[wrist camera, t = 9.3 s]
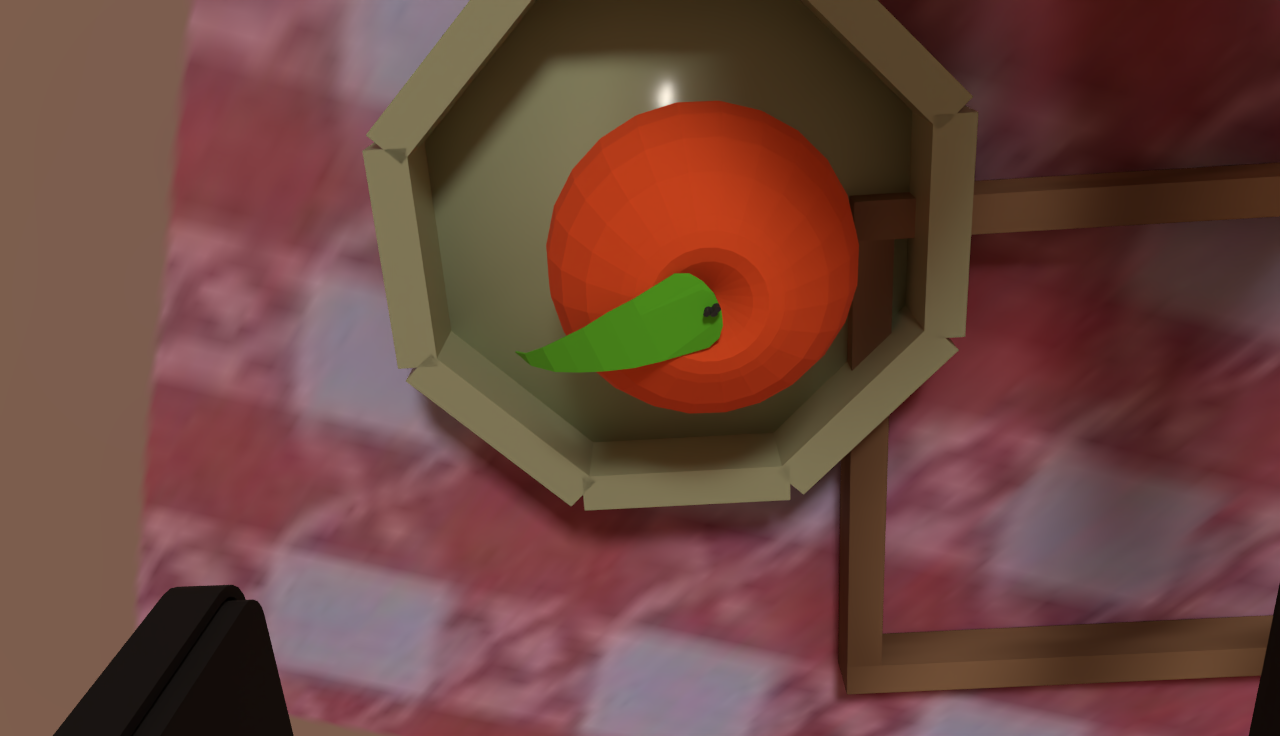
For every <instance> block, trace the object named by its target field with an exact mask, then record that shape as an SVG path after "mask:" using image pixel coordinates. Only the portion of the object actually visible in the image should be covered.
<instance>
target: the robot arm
mask: <svg viewBox="0 0 1280 736" xmlns="http://www.w3.org/2000/svg"><path fill="white" fill-rule="evenodd" d="M53 736H293V732H292V728H291V723H290V719H289V715H288V711H287V707H286V703H285V698H284V694H283V690H282V686H281V682H280V678H279V674H278V669H277V665H276V661H275V657H274V653H273V649H272V645H271V640H270V636H269V632H268V628H267V624H266V620H265V616H264V612H263V610H262V607H261V605H260V604H259V603H258V601H255V600H245V597H244V594H243V593H242V592H241V590H240V589H239V588H238V587H236V586H234V585H216V586H188V587H175V588H171V589H169V590H168V591H167V592H166V593H165V594H164V595H163V596H162V597H161V599H160V600H159V601H158V602H157V604H156V605H155V606H154V608H153V609H152V610H151V611H150V613H149V614H148V615H147V616H146V618H145V619H144V620H143V622H142V623H141V624H140V625H139V627H138V628H137V629H136V630H135V632H134V633H133V634H132V636H131V637H130V638H129V639H128V641H127V642H126V643H125V644H124V646H123V647H122V648H121V650H120V651H119V652H118V653H117V655H116V656H115V657H114V658H113V660H112V661H111V662H110V664H109V665H108V666H107V667H106V669H105V670H104V671H103V673H102V674H101V675H100V676H99V678H98V679H97V680H96V681H95V683H94V684H93V685H92V687H91V688H90V689H89V690H88V692H87V693H86V694H85V695H84V697H83V698H82V699H81V701H80V702H79V703H78V704H77V706H76V707H75V708H74V709H73V711H72V712H71V713H70V715H69V716H68V717H67V718H66V720H65V721H64V722H63V724H62V725H61V726H60V727H59V729H58V730H57V731H56V733H55V734H54V735H53ZM1249 736H1280V585H1279V590H1278V595H1277V599H1276V604H1275V609H1274V614H1273V619H1272V624H1271V629H1270V634H1269V639H1268V644H1267V649H1266V654H1265V658H1264V663H1263V668H1262V673H1261V678H1260V683H1259V688H1258V693H1257V698H1256V703H1255V708H1254V713H1253V717H1252V722H1251V727H1250V732H1249Z"/></svg>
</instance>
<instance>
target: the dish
mask: <svg viewBox="0 0 1280 736" xmlns="http://www.w3.org/2000/svg"><path fill="white" fill-rule="evenodd" d="M972 97H973V96H972V95H971V94H970V93H969V92H968V91H967V90H966V89H965V88H964V87H963V86H962V85H961V84H960V83H959V82H958V81H957V80H956V79H955V78H954V77H953V76H952V75H951V74H950V73H949V72H948V71H947V70H946V69H945V68H944V67H943V66H942V65H941V64H940V63H939V62H938V61H937V60H936V59H935V58H934V57H933V56H932V55H931V54H930V53H929V52H928V51H927V50H926V49H925V48H924V47H923V46H922V45H921V44H920V43H919V42H918V41H917V40H916V39H915V38H914V37H913V36H912V35H911V33H910V32H909V31H908V30H907V29H906V28H905V27H904V26H903V25H902V24H901V23H900V22H899V21H898V20H897V19H896V18H895V17H894V16H893V15H892V14H891V13H890V12H889V11H888V10H887V9H886V8H885V7H884V6H883V5H882V4H881V3H880V2H879V1H878V0H470V1H469V2H468V4H467V5H466V6H465V7H464V9H463V10H462V11H461V13H460V14H459V15H458V17H457V18H456V19H455V20H454V22H453V23H452V24H451V26H450V27H449V28H448V29H447V31H446V32H445V33H444V35H443V36H442V37H441V39H440V40H439V41H438V42H437V44H436V45H435V46H434V48H433V49H432V50H431V52H430V53H429V54H428V55H427V57H426V58H425V59H424V61H423V62H422V63H421V65H420V66H419V67H418V68H417V70H416V71H415V72H414V74H413V75H412V76H411V77H410V79H409V80H408V81H407V83H406V84H405V85H404V87H403V88H402V89H401V90H400V92H399V93H398V94H397V96H396V97H395V98H394V100H393V101H392V102H391V103H390V105H389V106H388V107H387V109H386V110H385V111H384V113H383V114H382V115H381V116H380V118H379V119H378V120H377V122H376V123H375V124H374V125H373V127H372V128H371V129H370V131H369V132H368V133H367V135H366V136H367V137H369V138H370V139H371V140H372V141H374V143H373V144H371V145H370V146H369V147H367V148H366V149H364V150H363V157H364V163H365V169H366V175H367V181H368V187H369V194H370V200H371V206H372V212H373V218H374V224H375V230H376V236H377V242H378V248H379V255H380V261H381V267H382V273H383V279H384V285H385V291H386V297H387V303H388V309H389V316H390V322H391V328H392V334H393V340H394V346H395V352H396V358H397V364H398V369H401V368H413V369H412V371H411V373H410V374H409V376H408V378H407V380H406V382H408V383H409V384H410V385H412V386H413V387H414V388H415V389H417V390H418V391H419V392H421V393H422V394H423V395H425V396H426V397H427V398H429V399H430V400H431V401H433V402H434V403H435V404H437V405H438V406H439V407H441V408H442V409H443V410H444V411H446V412H447V413H448V414H450V415H451V416H452V417H454V418H455V419H456V420H458V421H459V422H460V423H462V424H463V425H464V426H466V427H467V428H468V429H470V430H471V431H472V432H473V433H475V434H476V435H477V436H479V437H480V438H481V439H483V440H484V441H485V442H487V443H488V444H489V445H491V446H492V447H493V448H495V449H496V450H497V451H499V452H500V453H501V454H502V455H504V456H505V457H506V458H508V459H509V460H510V461H512V462H513V463H514V464H516V465H517V466H518V467H520V468H521V469H522V470H524V471H525V472H526V473H528V474H529V475H530V476H531V477H533V478H534V479H535V480H537V481H538V482H539V483H541V484H542V485H543V486H545V487H546V488H547V489H549V490H550V491H551V492H553V493H554V494H555V495H557V496H558V497H559V498H560V499H562V500H563V501H564V502H566V503H567V504H568V505H570V506H572V505H573V504H574V503H575V502H576V501H577V500H578V499H579V498H580V497H581V496H582V495H583V497H584V508H585V511H586V510H605V509H624V508H644V507H663V506H683V505H702V504H721V503H741V502H760V501H779V500H790V484H791V485H792V486H794V487H795V488H796V489H797V490H799V491H800V492H801V493H802V494H803V495H804V494H805V493H806V492H807V491H808V490H809V489H810V488H811V487H812V486H813V485H814V484H816V483H817V482H818V481H819V480H820V479H821V478H822V477H823V476H824V475H825V474H826V473H827V472H828V471H829V470H831V469H832V468H833V467H834V466H835V465H836V464H837V463H838V462H839V461H840V460H841V459H842V458H843V457H845V456H846V455H847V454H848V453H849V452H850V451H851V450H852V449H853V448H854V447H855V446H856V445H857V444H858V443H860V442H861V441H862V440H863V439H864V438H865V437H866V436H867V435H868V434H869V433H870V432H871V431H872V430H874V429H875V428H876V427H877V426H878V425H879V424H880V423H881V422H882V421H883V420H884V419H885V418H886V417H887V416H889V415H890V414H891V413H892V412H893V411H894V410H895V409H896V408H897V407H898V406H899V405H900V404H901V403H903V402H904V401H905V400H906V399H907V398H908V397H909V396H910V395H911V394H912V393H913V392H914V391H915V390H916V389H918V388H919V387H920V386H921V385H922V384H923V383H924V382H925V381H926V380H927V379H928V378H929V377H930V376H932V375H933V374H934V373H935V372H936V371H937V370H938V369H939V368H940V367H941V366H942V365H943V364H944V363H945V362H947V361H948V360H949V359H950V358H951V357H952V356H953V355H954V354H955V353H956V352H957V351H958V349H957V347H956V346H955V345H954V344H953V342H952V341H951V340H950V338H952V337H965V330H966V313H967V296H968V279H969V262H970V245H971V228H972V211H973V194H974V178H975V161H976V144H977V127H978V112H977V111H975V110H973V109H971V108H969V107H967V106H965V105H966V104H967V103H968V102H969V100H970V99H971V98H972ZM697 101H723V102H727V103H732V104H736V105H740V106H744V107H749V108H753V109H757V110H761V111H763V112H765V113H767V114H769V115H771V116H772V117H774V118H776V119H778V120H780V121H782V122H783V123H785V124H787V125H789V126H791V127H792V128H794V129H796V130H798V131H799V132H800V133H801V134H802V135H803V136H804V137H805V138H806V139H807V140H808V141H809V142H810V143H811V144H812V145H813V146H814V147H815V148H816V149H817V150H818V151H819V152H820V153H821V154H822V155H823V156H824V157H825V158H826V159H827V160H828V161H829V163H830V165H831V167H832V168H833V170H834V172H835V174H836V176H837V177H838V179H839V181H840V183H841V184H842V186H843V188H844V190H845V192H846V193H847V195H848V200H849V196H853V195H870V194H886V193H903V192H910V193H911V194H912V195H913V196H914V197H915V198H916V213H915V238H906V239H894V266H893V299H892V332H891V334H890V335H889V336H888V337H887V338H886V339H885V340H884V341H883V342H882V343H881V344H880V345H879V346H878V347H877V348H875V349H874V350H873V351H872V352H871V353H870V354H869V355H868V356H867V357H866V358H865V359H864V360H863V361H862V362H861V363H860V364H859V365H858V366H857V367H856V368H855V369H854V370H853V371H852V370H851V368H850V366H849V364H848V362H847V337H848V316H847V319H846V322H845V324H844V325H843V327H842V328H841V330H840V331H839V333H838V335H837V336H836V338H835V339H834V341H833V342H832V344H831V345H830V347H829V349H828V350H827V352H826V353H825V355H824V356H823V357H822V358H821V359H820V360H818V361H817V362H816V363H815V364H814V365H813V366H812V367H811V368H810V369H809V370H808V371H807V372H806V373H805V374H804V375H802V376H801V377H800V378H799V379H798V380H797V381H796V382H795V383H794V384H792V385H791V386H789V387H787V388H786V389H784V390H782V391H780V392H778V393H777V394H775V395H773V396H771V397H769V398H768V399H766V400H764V401H762V402H761V403H757V404H754V405H750V406H746V407H743V408H739V409H736V410H732V411H728V412H721V413H691V414H689V413H685V412H680V411H675V410H670V409H665V408H661V407H656V406H653V405H650V404H648V403H646V402H643V401H641V400H639V399H637V398H635V397H633V396H631V395H629V394H627V393H625V392H623V391H621V390H619V389H617V388H615V387H613V386H612V385H611V384H610V383H609V382H607V381H606V380H605V379H604V378H603V377H602V376H600V375H599V374H598V373H597V372H582V373H573V372H553V371H549V370H545V369H541V368H537V367H533V366H531V365H529V364H528V363H527V362H526V361H525V360H524V359H522V358H521V357H520V356H519V355H518V354H516V353H515V352H516V351H519V352H524V353H527V352H530V351H533V350H536V349H539V348H542V347H544V346H546V345H548V344H550V343H553V342H555V341H557V340H559V339H561V338H563V337H565V336H566V334H565V333H564V331H563V328H562V326H561V323H560V320H559V317H558V315H557V312H556V309H555V306H554V303H553V301H552V298H551V294H550V287H549V277H548V264H547V251H546V243H547V238H548V233H549V228H550V223H551V218H552V213H553V208H554V205H555V203H556V201H557V199H558V197H559V195H560V193H561V191H562V189H563V187H564V185H565V183H566V181H567V179H568V177H569V175H570V173H571V171H572V169H573V168H574V167H575V166H576V165H577V164H578V162H579V161H580V160H581V159H582V158H583V157H584V156H585V155H586V154H587V152H588V151H589V150H590V149H591V148H592V147H593V146H594V145H595V144H596V142H597V141H598V140H599V139H600V138H602V137H603V136H605V135H606V134H608V133H609V132H611V131H612V130H614V129H616V128H617V127H619V126H620V125H622V124H623V123H625V122H626V121H628V120H630V119H631V118H633V117H634V116H636V115H638V114H641V113H644V112H648V111H651V110H654V109H657V108H660V107H663V106H667V105H670V104H673V103H676V102H697Z"/></svg>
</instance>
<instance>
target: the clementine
mask: <svg viewBox="0 0 1280 736" xmlns="http://www.w3.org/2000/svg"><path fill="white" fill-rule="evenodd" d="M546 251H547V264H548V277H549V287H550V294H551V298H552V301H553V303H554V306H555V309H556V312H557V315H558V317H559V320H560V323H561V326H562V328H563V331H564V333H565V334H566V336H565V337H563V338H561V339H559V340H557V341H555V342H553V343H550V344H548V345H546V346H544V347H542V348H539V349H536V350H533V351H530V352H527V353H524V352H519V351H516V352H515V353H516V354H518V355H519V356H520V357H521V358H522V359H524V360H525V361H526V362H527V363H528V364H529V365H531V366H533V367H537V368H541V369H545V370H549V371H553V372H573V373H582V372H597V373H598V374H599V375H600V376H602V377H603V378H604V379H605V380H606V381H607V382H609V383H610V384H611V385H612V386H613V387H615V388H617V389H619V390H621V391H623V392H625V393H627V394H629V395H631V396H633V397H635V398H637V399H639V400H641V401H643V402H646V403H648V404H650V405H653V406H656V407H661V408H665V409H670V410H675V411H680V412H685V413H689V414H691V413H721V412H728V411H732V410H736V409H739V408H743V407H746V406H750V405H754V404H757V403H761V402H762V401H764V400H766V399H768V398H769V397H771V396H773V395H775V394H777V393H778V392H780V391H782V390H784V389H786V388H787V387H789V386H791V385H792V384H794V383H795V382H796V381H797V380H798V379H799V378H800V377H801V376H802V375H804V374H805V373H806V372H807V371H808V370H809V369H810V368H811V367H812V366H813V365H814V364H815V363H816V362H817V361H818V360H820V359H821V358H822V357H823V356H824V355H825V353H826V352H827V350H828V349H829V347H830V345H831V344H832V342H833V341H834V339H835V338H836V336H837V335H838V333H839V331H840V330H841V328H842V327H843V325H844V324H845V322H846V319H847V316H848V313H849V309H850V306H851V303H852V300H853V297H854V294H855V291H856V287H857V283H858V258H859V243H858V238H857V233H856V229H855V225H854V221H853V216H852V212H851V208H850V204H849V200H848V195H847V193H846V192H845V190H844V188H843V186H842V184H841V183H840V181H839V179H838V177H837V176H836V174H835V172H834V170H833V168H832V167H831V165H830V163H829V161H828V160H827V159H826V158H825V157H824V156H823V155H822V154H821V153H820V152H819V151H818V150H817V149H816V148H815V147H814V146H813V145H812V144H811V143H810V142H809V141H808V140H807V139H806V138H805V137H804V136H803V135H802V134H801V133H800V132H799V131H798V130H796V129H794V128H792V127H791V126H789V125H787V124H785V123H783V122H782V121H780V120H778V119H776V118H774V117H772V116H771V115H769V114H767V113H765V112H763V111H761V110H757V109H753V108H749V107H744V106H740V105H736V104H732V103H727V102H723V101H697V102H676V103H673V104H670V105H667V106H663V107H660V108H657V109H654V110H651V111H648V112H644V113H641V114H638V115H636V116H634V117H633V118H631V119H630V120H628V121H626V122H625V123H623V124H622V125H620V126H619V127H617V128H616V129H614V130H612V131H611V132H609V133H608V134H606V135H605V136H603V137H602V138H600V139H599V140H598V141H597V142H596V144H595V145H594V146H593V147H592V148H591V149H590V150H589V151H588V152H587V154H586V155H585V156H584V157H583V158H582V159H581V160H580V161H579V162H578V164H577V165H576V166H575V167H574V168H573V169H572V171H571V173H570V175H569V177H568V179H567V181H566V183H565V185H564V187H563V189H562V191H561V193H560V195H559V197H558V199H557V201H556V203H555V205H554V208H553V213H552V218H551V223H550V228H549V233H548V238H547V243H546Z"/></svg>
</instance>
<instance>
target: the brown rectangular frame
mask: <svg viewBox="0 0 1280 736" xmlns="http://www.w3.org/2000/svg"><path fill="white" fill-rule="evenodd" d="M849 204H850V208H851V212H852V216H853V221H854V225H855V229H856V233H857V238H858V243H859V258H858V283H857V287H856V291H855V294H854V297H853V300H852V303H851V306H850V309H849V313H848V337H847V362H848V364H849V366H850V368H851V370H852V371H853V370H854V369H855V368H856V367H857V366H858V365H859V364H860V363H861V362H862V361H863V360H864V359H865V358H866V357H867V356H868V355H869V354H870V353H871V352H872V351H873V350H874V349H875V348H877V347H878V346H879V345H880V344H881V343H882V342H883V341H884V340H885V339H886V338H887V337H888V336H889V335H890V334H891V332H892V299H893V266H894V239H906V238H915V213H916V198H915V197H914V196H913V195H912V194H911V193H910V192H903V193H886V194H870V195H853V196H849ZM1278 216H1280V162H1278V163H1261V164H1245V165H1228V166H1212V167H1196V168H1179V169H1163V170H1146V171H1130V172H1113V173H1097V174H1081V175H1064V176H1048V177H1031V178H1015V179H998V180H982V181H974V194H973V211H972V228H971V235H974V234H991V233H1008V232H1025V231H1041V230H1058V229H1075V228H1092V227H1109V226H1126V225H1143V224H1160V223H1176V222H1193V221H1210V220H1227V219H1244V218H1261V217H1278ZM888 430H889V416H887V417H886V418H885V419H884V420H883V421H882V422H881V423H880V424H879V425H878V426H877V427H876V428H875V429H874V430H872V431H871V432H870V433H869V434H868V435H867V436H866V437H865V438H864V439H863V440H862V441H861V442H860V443H858V444H857V445H856V446H855V447H854V448H853V449H852V450H851V451H850V452H849V453H848V454H847V455H846V456H845V457H843V458H842V459H841V482H840V570H839V659H838V662H839V666H840V670H841V674H842V677H843V681H844V685H845V689H846V692H847V694H866V693H888V692H910V691H932V690H954V689H975V688H997V687H1019V686H1041V685H1063V684H1085V683H1106V682H1128V681H1150V680H1172V679H1194V678H1216V677H1238V676H1259V675H1261V673H1262V668H1263V663H1264V658H1265V654H1266V649H1267V644H1268V639H1269V634H1270V629H1271V624H1272V619H1273V615H1269V616H1248V617H1227V618H1206V619H1185V620H1164V621H1143V622H1122V623H1101V624H1080V625H1059V626H1038V627H1017V628H996V629H975V630H954V631H933V632H911V633H890V634H882V627H883V594H884V562H885V529H886V496H887V463H888Z"/></svg>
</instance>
